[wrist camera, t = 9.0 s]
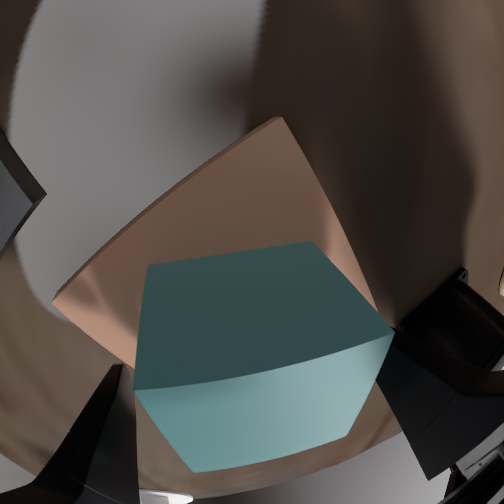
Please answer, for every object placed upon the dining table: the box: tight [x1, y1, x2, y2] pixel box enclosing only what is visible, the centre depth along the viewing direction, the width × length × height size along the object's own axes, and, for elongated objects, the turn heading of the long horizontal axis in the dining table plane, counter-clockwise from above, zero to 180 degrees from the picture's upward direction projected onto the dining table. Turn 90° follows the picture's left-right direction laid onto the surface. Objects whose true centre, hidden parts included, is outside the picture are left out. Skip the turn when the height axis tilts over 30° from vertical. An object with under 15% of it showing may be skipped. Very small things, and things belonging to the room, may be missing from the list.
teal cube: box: [133, 241, 395, 473], centre depth 9 cm, size 6×6×5 cm
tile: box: [52, 117, 378, 369], centre depth 12 cm, size 11×11×1 cm
